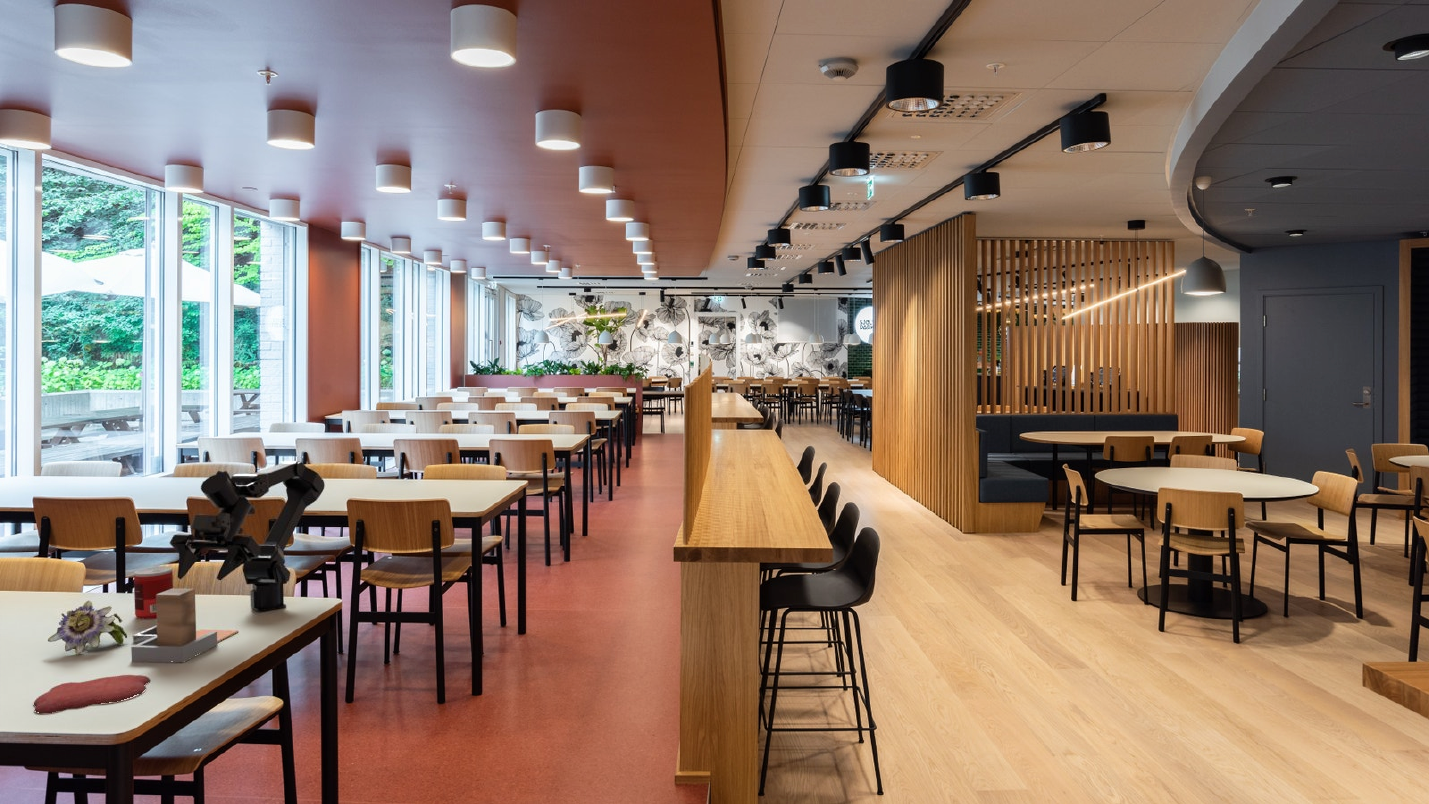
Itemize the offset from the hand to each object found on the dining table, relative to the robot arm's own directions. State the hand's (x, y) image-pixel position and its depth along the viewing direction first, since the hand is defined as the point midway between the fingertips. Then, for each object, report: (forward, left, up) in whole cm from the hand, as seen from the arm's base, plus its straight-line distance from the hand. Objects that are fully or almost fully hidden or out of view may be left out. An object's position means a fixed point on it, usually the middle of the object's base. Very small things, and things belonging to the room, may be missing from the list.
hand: (198, 578), depth 192 cm
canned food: (+3, -28, -14) cm, 31 cm away
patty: (+23, +22, -14) cm, 35 cm away
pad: (-1, 0, -14) cm, 14 cm away
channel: (+6, +6, -14) cm, 16 cm away
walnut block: (+6, +6, -14) cm, 16 cm away
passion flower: (+19, -10, -14) cm, 25 cm away
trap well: (+5, -8, -14) cm, 16 cm away
